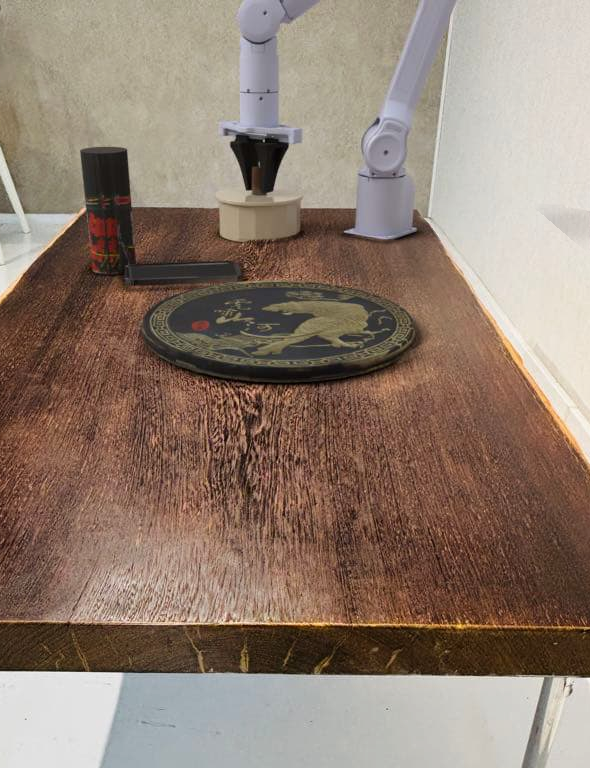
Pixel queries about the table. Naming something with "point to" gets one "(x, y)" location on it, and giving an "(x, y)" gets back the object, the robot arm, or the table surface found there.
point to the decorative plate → (278, 331)
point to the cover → (258, 193)
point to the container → (258, 221)
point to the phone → (182, 273)
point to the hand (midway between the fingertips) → (259, 190)
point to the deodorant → (108, 208)
